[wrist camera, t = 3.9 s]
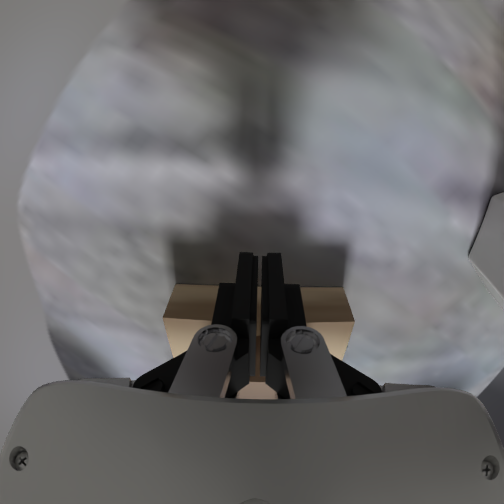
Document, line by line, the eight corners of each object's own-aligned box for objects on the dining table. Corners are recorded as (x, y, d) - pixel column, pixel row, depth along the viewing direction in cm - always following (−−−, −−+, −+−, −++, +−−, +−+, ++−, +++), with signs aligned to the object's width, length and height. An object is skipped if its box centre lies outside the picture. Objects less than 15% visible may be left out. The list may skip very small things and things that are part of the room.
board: (175, 283, 17) (162, 317, 15) (343, 287, 17) (354, 321, 14) (198, 393, 23) (193, 422, 21) (313, 395, 23) (317, 424, 20)
